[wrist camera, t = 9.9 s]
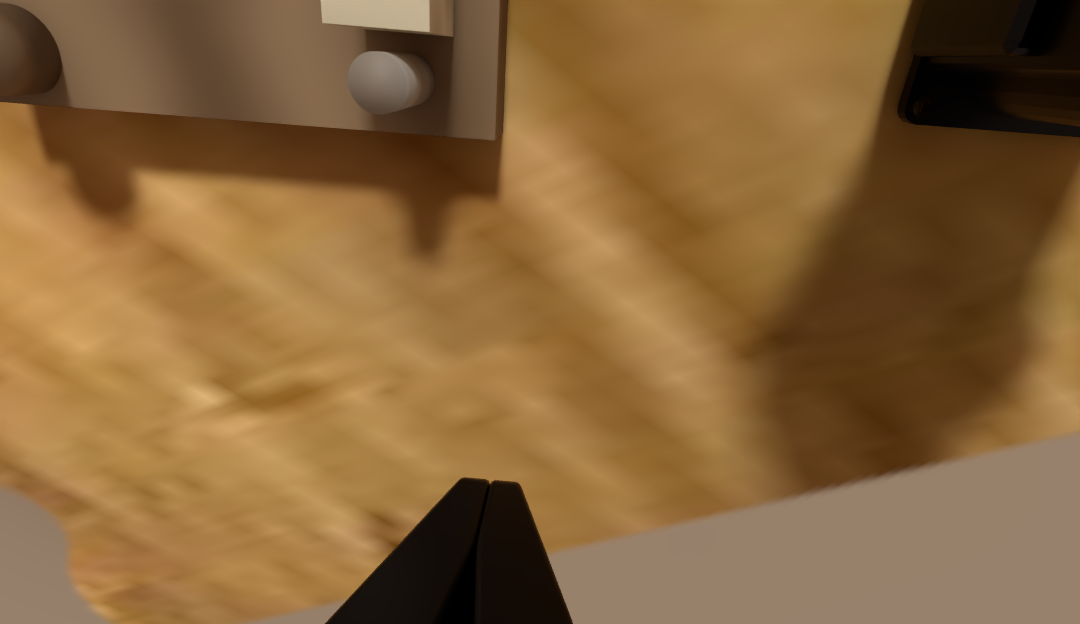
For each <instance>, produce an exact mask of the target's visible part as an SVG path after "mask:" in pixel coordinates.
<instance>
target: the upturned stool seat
mask: <svg viewBox="0 0 1080 624" xmlns="http://www.w3.org/2000/svg"><path fill="white" fill-rule="evenodd" d="M507 10H508V0H454V25H453V37H450V36H438V35H426V34H415V33H403V32H391V31H380V30H368V29H359V28H353V27H346V26H339V25H333V24H326V23H322V12H321V0H0V102H9V103H22V104H35V105H47V106H60V107H73V108H86V109H99V110H111V111H124V112H137V113H150V114H163V115H175V116H188V117H201V118H214V119H226V120H239V121H252V122H265V123H278V124H290V125H303V126H316V127H329V128H342V129H354V130H367V131H380V132H393V133H406V134H418V135H431V136H444V137H457V138H470V139H482V140H496V139H497V138H498V137H499V136H500V135H501V134H502V133H503V114H504V88H505V62H506V36H507Z"/></svg>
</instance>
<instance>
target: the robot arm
mask: <svg viewBox="0 0 1080 624" xmlns="http://www.w3.org/2000/svg"><path fill="white" fill-rule="evenodd" d="M912 49H913V51H914V53H915V54H914V57H913V60H912V63H911V67H910V70H909V73H908V76H907V79H906V82H905V86H904V89H903V92H902V95H901V98H900V101H899V105H898V115H899V118H900V119H901V120H902V121H903V122H907V123H910V124H916V125H928V126H941V127H954V128H968V129H981V130H994V131H1007V132H1020V133H1033V134H1046V135H1059V136H1072V137H1080V0H926V2H925V5H924V8H923V11H922V14H921V18H920V21H919V24H918V27H917V30H916V34H915V37H914V40H913V43H912ZM920 99H922V101H923V102H924V103H923V108H922V110H921V111H920V112H919V113H918V114H914V112H913V106H914V105H915V103H916V102H917V101H918V100H920ZM325 624H573V623H572V619H571V617H570V614H569V611H568V609H567V606H566V603H565V601H564V599H563V596H562V593H561V590H560V588H559V585H558V582H557V580H556V577H555V574H554V572H553V569H552V567H551V564H550V561H549V559H548V556H547V553H546V551H545V548H544V545H543V543H542V540H541V538H540V535H539V532H538V530H537V527H536V524H535V522H534V519H533V516H532V514H531V511H530V509H529V506H528V503H527V501H526V498H525V495H524V493H523V490H522V488H521V486H520V484H519V483H517V482H510V481H499V480H494V481H492V482H491V484H490V483H489V481H488V480H486V479H477V478H466V477H465V478H461V479H460V480H458V482H457V483H456V484H455V485H454V486H453V487H452V488H451V489H450V490H449V491H448V492H447V493H446V494H445V495H444V497H443V498H442V499H441V500H440V501H439V502H438V503H437V504H436V505H435V506H434V507H433V508H432V509H431V510H430V512H429V513H428V514H427V515H426V516H425V517H424V518H423V519H422V520H421V521H420V522H419V523H418V524H417V525H416V527H415V528H414V529H413V530H412V531H411V532H410V533H409V534H408V535H407V536H406V537H405V538H404V539H403V541H402V542H401V543H400V544H399V545H398V546H397V547H396V548H395V549H394V550H393V551H392V552H391V553H390V554H389V556H388V557H387V558H386V559H385V560H384V561H383V562H382V563H381V564H380V565H379V566H378V567H377V568H376V569H375V571H374V572H373V573H372V574H371V575H370V576H369V577H368V578H367V579H366V580H365V581H364V582H363V583H362V584H361V586H360V587H359V588H358V589H357V590H356V591H355V592H354V593H353V594H352V595H351V596H350V597H349V598H348V599H347V601H346V602H345V603H344V604H343V605H342V606H341V607H340V608H339V609H338V610H337V611H336V612H335V613H334V614H333V616H332V617H331V618H330V619H329V620H328V621H327V622H326V623H325Z"/></svg>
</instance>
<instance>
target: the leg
mask: <svg viewBox="0 0 1080 624" xmlns="http://www.w3.org/2000/svg"><path fill="white" fill-rule="evenodd" d="M321 12H322V23H326V24H333V25H339V26H346V27H353V28H359V29H368V30H380V31H391V32H403V33H415V34H426V35H438V36H450V37H453V25H454V0H321Z"/></svg>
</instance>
